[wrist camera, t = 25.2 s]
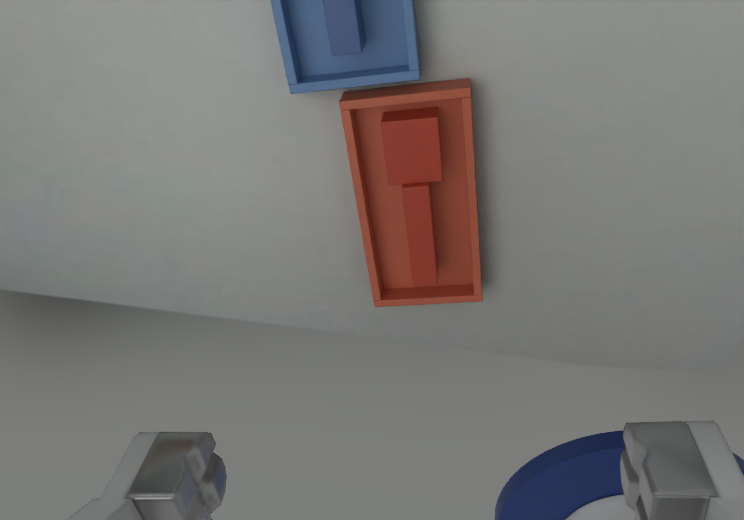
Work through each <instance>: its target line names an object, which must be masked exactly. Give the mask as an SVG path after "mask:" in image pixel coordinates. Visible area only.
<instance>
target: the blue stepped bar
mask: <svg viewBox="0 0 744 520" xmlns="http://www.w3.org/2000/svg"><path fill="white" fill-rule="evenodd" d="M323 5H324V11H325V17H326V23H327V29H328V35H329V41H330V47H331V53H332V56H337V55H346V54H355V53H362V51H363V48H364V46H365V44H366V36H365V29H364V21H363V14H362V7H361V0H323Z"/></svg>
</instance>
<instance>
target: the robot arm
mask: <svg viewBox="0 0 744 520" xmlns="http://www.w3.org/2000/svg"><path fill="white" fill-rule="evenodd" d="M623 439H624V442H625V446H626V449H625V450H624V451H623V452H622V453H621V461H620V472H621V482H622V488H623V493H624V494H623V495H615V496H610V497H606V498H602V499H599V500H596V501H593V502H591V503H588V504H586V505H584V506H582V507H581V508H579V509H577V510H576V511H575V512H573V513H572V514H571V515H570V516H568V517H567V518H566V519H565V520H744V475H743V473H742V471H741V469H740V467H739V465H738V463H737V461H736V459H735V457H734V455H733V453H732V451H731V449H730V447H729V445H728V443H727V441H726V439H725V437H724V435H723V433H722V431H721V429H720V427H719V425H718V424H717V423H715V422H714V421H684V422H682V421H670V422H639V423H626V425H625V427H624V432H623ZM215 445H216V443H215V441H214V438H213V436H212V434H211V433H208V432H140V433H138V434H137V435H136V436H135V437H134V438H133V439H132V441H131V443H130V445H129V446H128V448H127V450H126V452H125V454H124V456H123V457H122V459H121V461H120V463H119V465H118V467H117V468H116V470H115V472H114V474H113V475H112V477H111V479H110V481H109V483H108V484H107V486H106V488H105V490H104V492H103V493H102V495H101V497H100V499H92V500H91V501H90V502H88V503H87V504H86V505H85V506H83V507H82V508H81V509H79V510H78V511H77V512H75V513H74V514H73V515H72V516H70V517H69V518H68V519H66V520H212V519H211V516H210V514H211V513H212V512H214V510H216V509H217V508H218V507H219V506H220V505H221V503H222V500H223V496H224V494H225V487H226V478H227V477H226V470H225V466H224V463H223V460H222V458H220V457H219V456H218V455H216V454H215V453H213V450H214V448H215Z"/></svg>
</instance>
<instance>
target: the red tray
mask: <svg viewBox="0 0 744 520" xmlns="http://www.w3.org/2000/svg"><path fill="white" fill-rule="evenodd" d="M339 104H340V110H341V115H342V121H343V127H344V132H345V138H346V144H347V150H348V156H349V161H350V167H351V173H352V179H353V185H354V190H355V196H356V202H357V208H358V214H359V219H360V225H361V231H362V237H363V243H364V248H365V254H366V260H367V266H368V272H369V277H370V283H371V289H372V295H373V300H374V306H375V307H383V306H402V305H421V304H439V303H458V302H477V301H482V282H481V264H480V246H479V228H478V211H477V193H476V175H475V157H474V139H473V121H472V103H471V87H470V79H469V78H466V79H457V80H448V81H439V82H430V83H421V84H412V85H403V86H394V87H385V88H376V89H367V90H358V91H349V92H344V93H343V95H342V97H341V99H340V101H339ZM430 107H438V112H439V125H440V138H441V151H442V164H443V181H440V182H431V191H432V202H433V213H434V225H435V236H436V247H437V258H438V285H437V286H421V287H414V286H413V281H412V272H411V263H410V255H409V246H408V238H407V229H406V221H405V212H404V204H403V195H402V184H400V185H389V184H388V177H387V169H386V161H385V154H384V146H383V138H382V130H381V119H382V115H383V112H389V111H399V110H409V109H420V108H430Z"/></svg>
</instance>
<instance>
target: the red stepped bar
mask: <svg viewBox="0 0 744 520" xmlns="http://www.w3.org/2000/svg"><path fill="white" fill-rule="evenodd" d="M381 130H382V138H383V146H384V154H385V161H386V169H387V177H388V184H389V185H400V184H402V195H403V204H404V212H405V221H406V229H407V238H408V246H409V255H410V263H411V272H412V281H413V286H414V287H421V286H437V285H438V258H437V247H436V236H435V225H434V213H433V202H432V191H431V182H440V181H443V164H442V151H441V138H440V125H439V112H438V107H430V108H420V109H409V110H399V111H389V112H383V115H382V119H381Z"/></svg>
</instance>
